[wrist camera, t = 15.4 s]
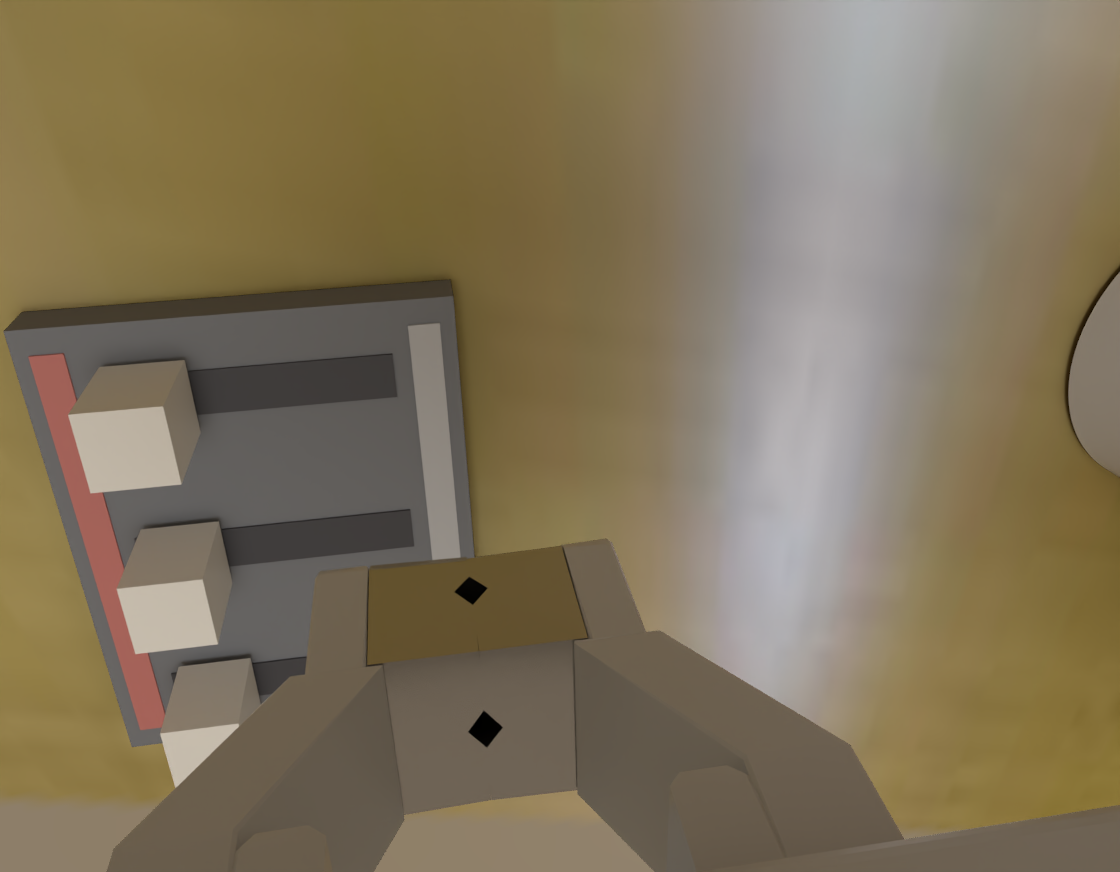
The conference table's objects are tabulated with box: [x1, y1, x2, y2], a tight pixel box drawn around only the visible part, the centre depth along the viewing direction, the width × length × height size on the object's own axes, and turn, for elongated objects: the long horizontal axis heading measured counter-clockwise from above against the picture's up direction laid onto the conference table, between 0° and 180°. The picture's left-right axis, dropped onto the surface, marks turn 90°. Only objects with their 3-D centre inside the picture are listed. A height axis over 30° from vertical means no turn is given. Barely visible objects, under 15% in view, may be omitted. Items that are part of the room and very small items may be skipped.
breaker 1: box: [68, 360, 201, 493], centre depth 35 cm, size 3×3×4 cm
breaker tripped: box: [117, 521, 232, 654], centre depth 38 cm, size 3×3×4 cm
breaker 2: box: [160, 658, 261, 787], centre depth 41 cm, size 3×3×4 cm
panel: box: [4, 280, 474, 747], centre depth 41 cm, size 16×20×2 cm
